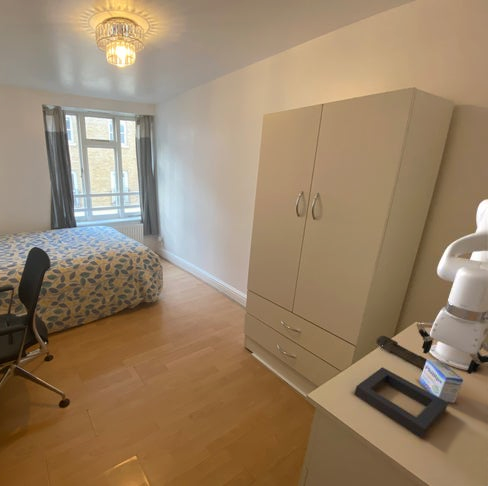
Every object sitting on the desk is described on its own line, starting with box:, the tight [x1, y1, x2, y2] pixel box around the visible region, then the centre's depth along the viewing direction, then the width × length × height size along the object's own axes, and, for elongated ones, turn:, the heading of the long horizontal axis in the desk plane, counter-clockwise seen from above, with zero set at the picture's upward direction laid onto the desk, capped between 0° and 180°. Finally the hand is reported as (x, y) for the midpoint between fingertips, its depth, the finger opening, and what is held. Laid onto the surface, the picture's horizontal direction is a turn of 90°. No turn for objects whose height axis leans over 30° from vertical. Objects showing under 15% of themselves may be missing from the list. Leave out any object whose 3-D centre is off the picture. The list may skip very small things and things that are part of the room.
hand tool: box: [375, 335, 428, 370], centre depth 98 cm, size 19×4×5 cm, turn 21°
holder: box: [354, 366, 449, 439], centre depth 80 cm, size 16×16×3 cm
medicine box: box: [419, 359, 464, 404], centre depth 83 cm, size 8×4×9 cm, turn 170°
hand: (447, 361), depth 82 cm, fingers open, 9 cm apart
